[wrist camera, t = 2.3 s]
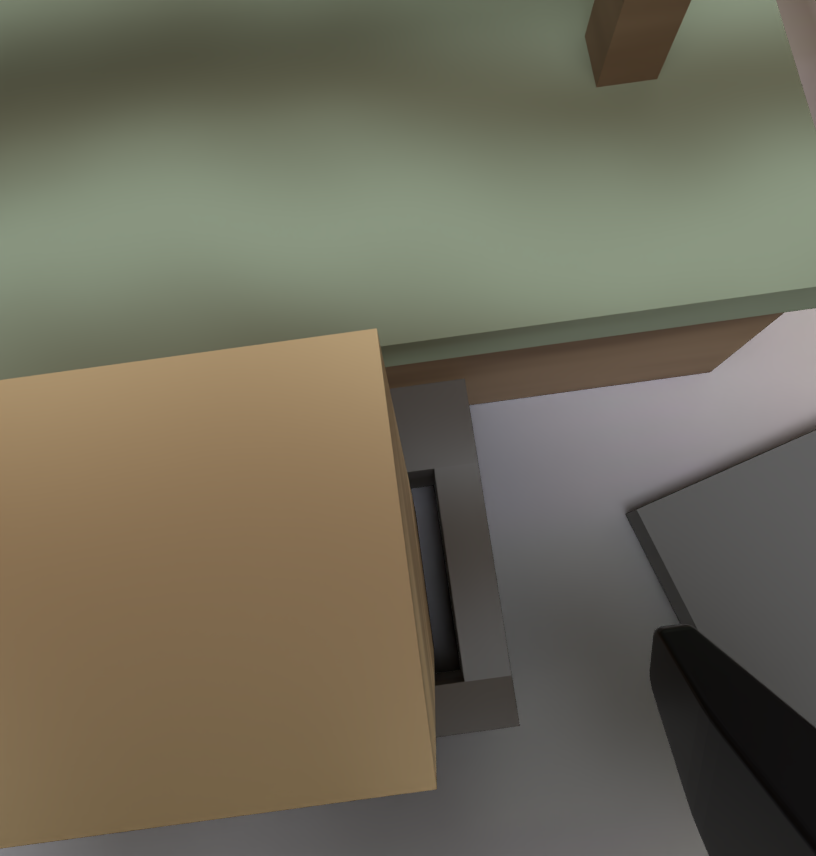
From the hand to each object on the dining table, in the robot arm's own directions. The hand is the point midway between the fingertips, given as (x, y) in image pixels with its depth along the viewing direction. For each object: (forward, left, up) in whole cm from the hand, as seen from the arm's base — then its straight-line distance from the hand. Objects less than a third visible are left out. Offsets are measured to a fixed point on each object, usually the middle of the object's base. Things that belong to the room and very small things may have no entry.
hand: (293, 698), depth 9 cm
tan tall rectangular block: (+1, 0, -9) cm, 9 cm away
